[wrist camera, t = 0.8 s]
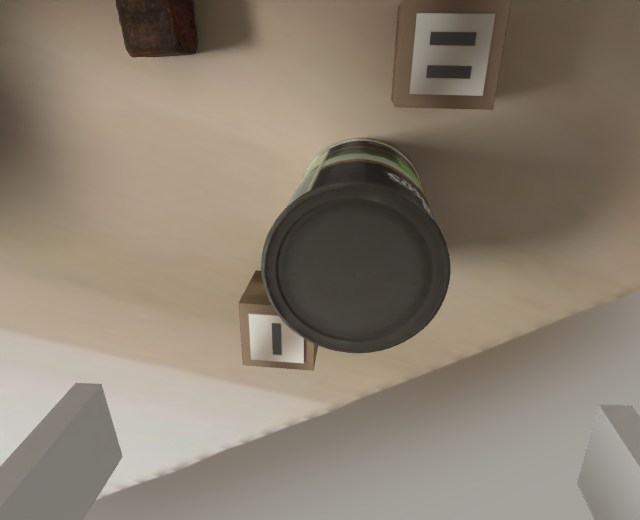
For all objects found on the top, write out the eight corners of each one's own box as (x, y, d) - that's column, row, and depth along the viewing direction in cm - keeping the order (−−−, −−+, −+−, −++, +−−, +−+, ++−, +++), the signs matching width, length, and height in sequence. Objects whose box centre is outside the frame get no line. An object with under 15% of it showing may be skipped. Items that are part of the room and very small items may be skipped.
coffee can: (388, 112, 34) (400, 146, 22) (442, 226, 38) (480, 314, 25) (274, 174, 37) (224, 237, 24) (333, 275, 40) (317, 377, 28)
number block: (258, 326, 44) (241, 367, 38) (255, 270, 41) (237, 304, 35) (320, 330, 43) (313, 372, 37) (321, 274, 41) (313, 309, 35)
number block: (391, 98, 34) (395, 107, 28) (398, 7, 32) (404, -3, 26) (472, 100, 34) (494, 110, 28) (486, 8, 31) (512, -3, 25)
